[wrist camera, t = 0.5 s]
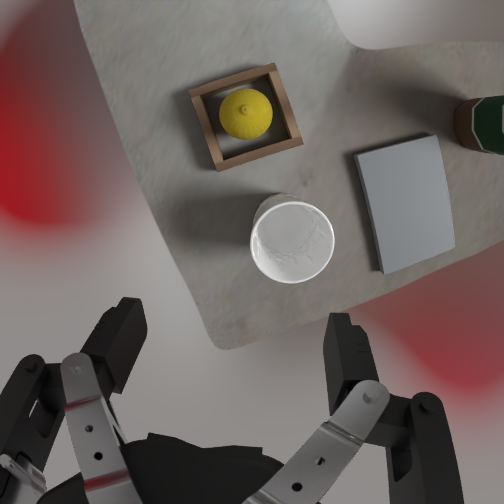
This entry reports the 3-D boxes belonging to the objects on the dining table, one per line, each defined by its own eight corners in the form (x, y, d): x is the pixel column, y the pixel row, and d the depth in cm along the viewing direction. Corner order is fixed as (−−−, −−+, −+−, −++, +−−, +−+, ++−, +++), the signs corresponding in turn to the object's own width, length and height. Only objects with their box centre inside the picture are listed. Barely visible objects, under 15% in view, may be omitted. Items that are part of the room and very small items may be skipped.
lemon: (238, 87, 34) (235, 71, 26) (278, 110, 35) (286, 100, 27) (213, 125, 35) (204, 119, 27) (253, 149, 36) (255, 149, 28)
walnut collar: (192, 94, 34) (188, 90, 31) (272, 67, 33) (274, 62, 30) (219, 170, 37) (217, 172, 34) (300, 144, 36) (303, 144, 33)
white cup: (326, 213, 39) (350, 235, 29) (287, 262, 41) (299, 297, 31) (275, 175, 37) (285, 183, 28) (236, 227, 39) (233, 253, 30)
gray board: (353, 155, 36) (357, 155, 35) (430, 134, 35) (436, 134, 34) (380, 270, 41) (384, 275, 40) (449, 244, 40) (455, 247, 39)
